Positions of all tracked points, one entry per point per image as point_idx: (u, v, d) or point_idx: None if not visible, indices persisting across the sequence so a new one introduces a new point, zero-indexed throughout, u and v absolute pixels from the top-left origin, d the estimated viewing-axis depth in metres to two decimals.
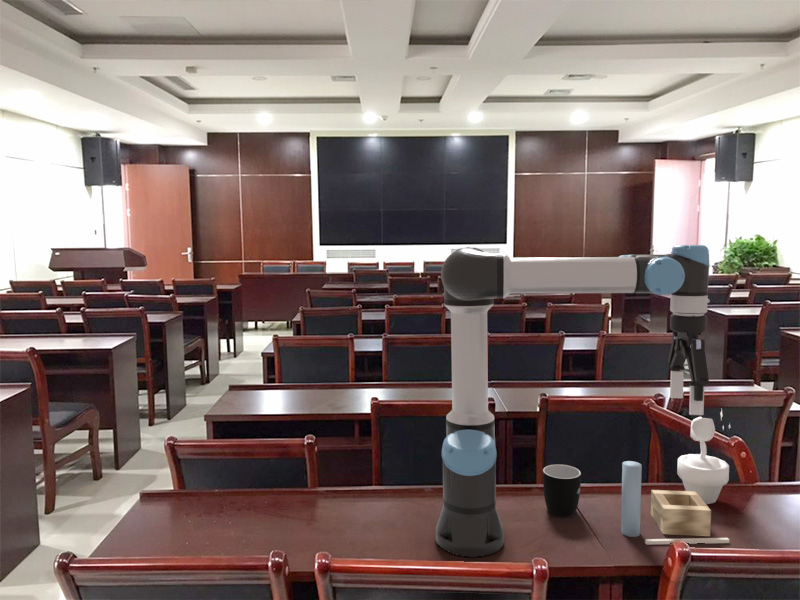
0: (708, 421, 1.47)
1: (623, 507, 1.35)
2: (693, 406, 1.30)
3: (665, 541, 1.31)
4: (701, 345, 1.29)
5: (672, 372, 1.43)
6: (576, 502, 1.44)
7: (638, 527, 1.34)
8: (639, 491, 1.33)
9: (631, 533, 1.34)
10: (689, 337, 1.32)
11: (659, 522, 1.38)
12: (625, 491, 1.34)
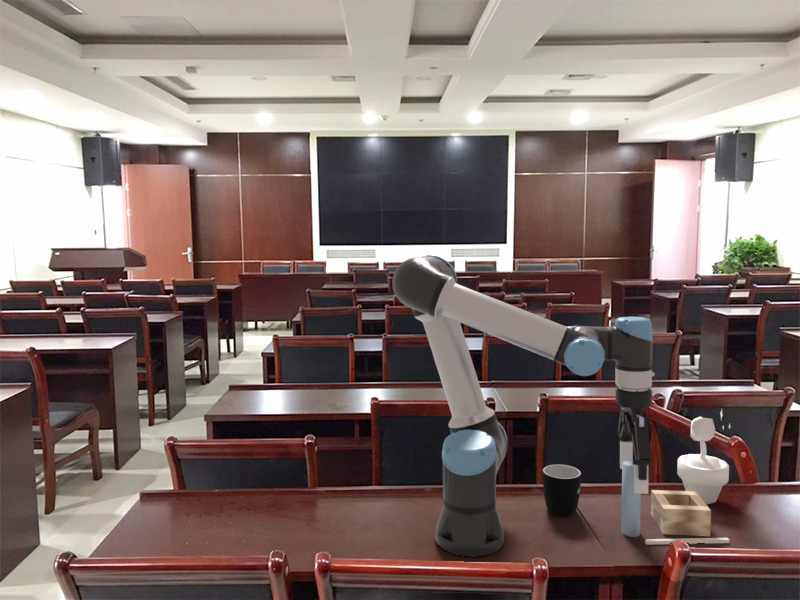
0: (708, 421, 1.47)
1: (623, 507, 1.35)
2: (637, 484, 1.27)
3: (665, 541, 1.31)
4: (644, 423, 1.26)
5: (621, 443, 1.41)
6: (576, 502, 1.44)
7: (638, 527, 1.34)
8: None
9: (631, 533, 1.34)
10: (633, 413, 1.29)
11: (659, 522, 1.38)
12: (625, 491, 1.34)
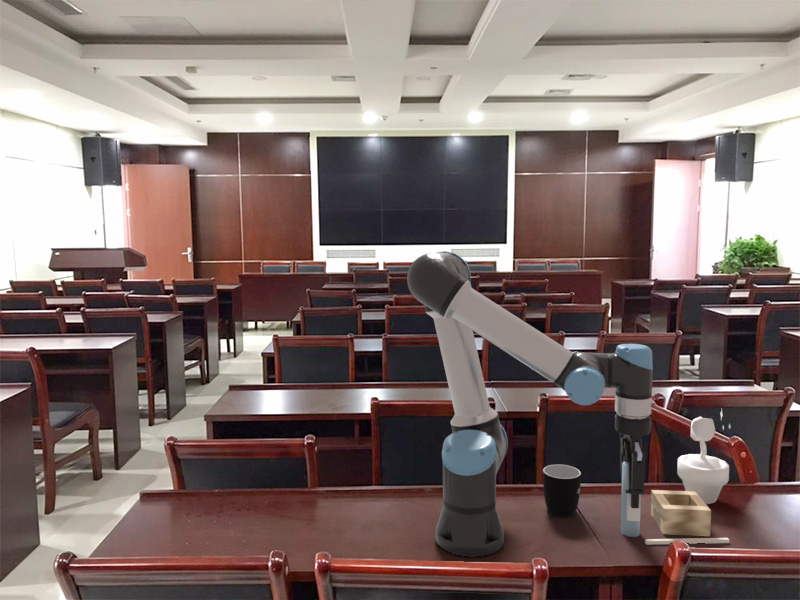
0: (708, 421, 1.47)
1: (623, 507, 1.35)
2: (630, 512, 1.33)
3: (665, 541, 1.31)
4: (642, 458, 1.28)
5: None
6: (576, 502, 1.44)
7: (638, 527, 1.34)
8: None
9: (631, 533, 1.34)
10: (632, 443, 1.30)
11: (659, 522, 1.38)
12: None
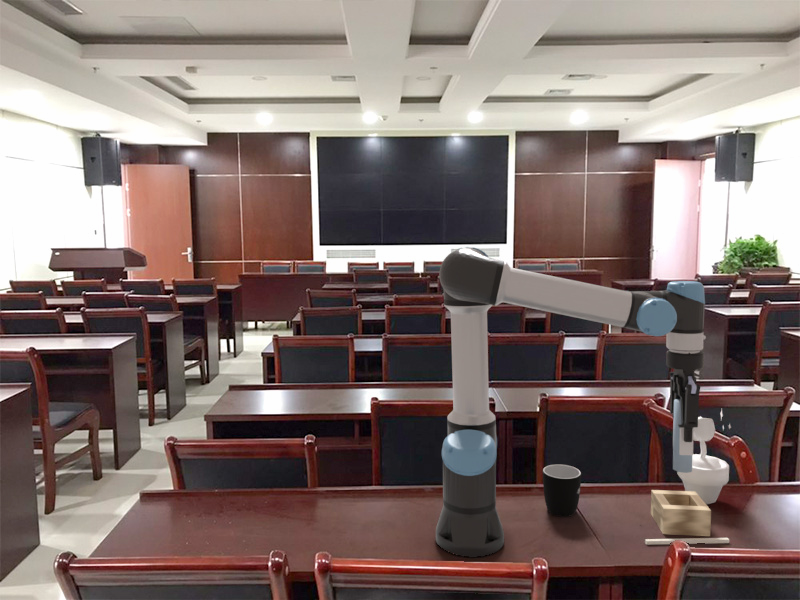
0: (708, 421, 1.47)
1: (675, 443, 1.37)
2: (683, 446, 1.35)
3: (665, 541, 1.31)
4: (696, 391, 1.29)
5: None
6: (576, 502, 1.44)
7: (691, 463, 1.36)
8: None
9: (684, 469, 1.36)
10: (686, 377, 1.32)
11: (659, 522, 1.38)
12: (677, 427, 1.36)
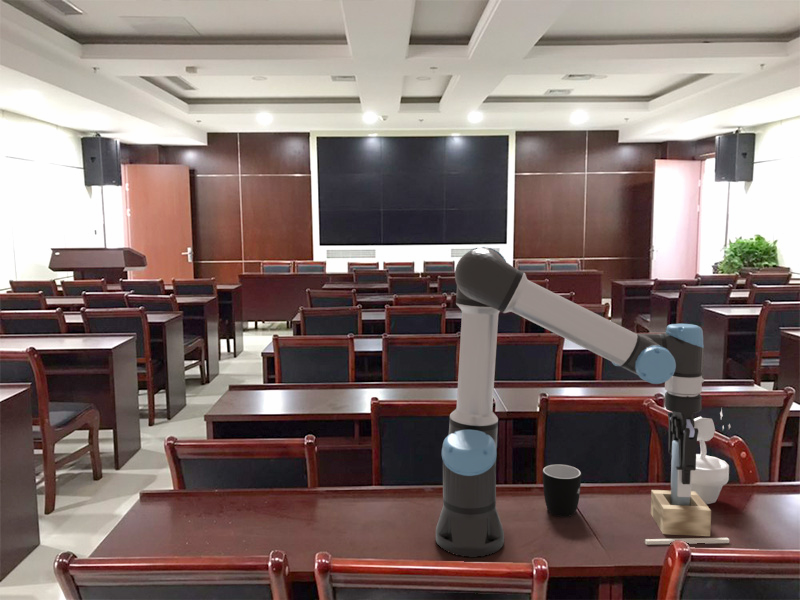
0: (708, 421, 1.47)
1: (673, 485, 1.38)
2: (680, 488, 1.36)
3: (665, 541, 1.31)
4: (694, 435, 1.31)
5: None
6: (576, 502, 1.44)
7: (688, 504, 1.37)
8: None
9: None
10: (684, 420, 1.33)
11: (659, 522, 1.38)
12: (675, 469, 1.37)
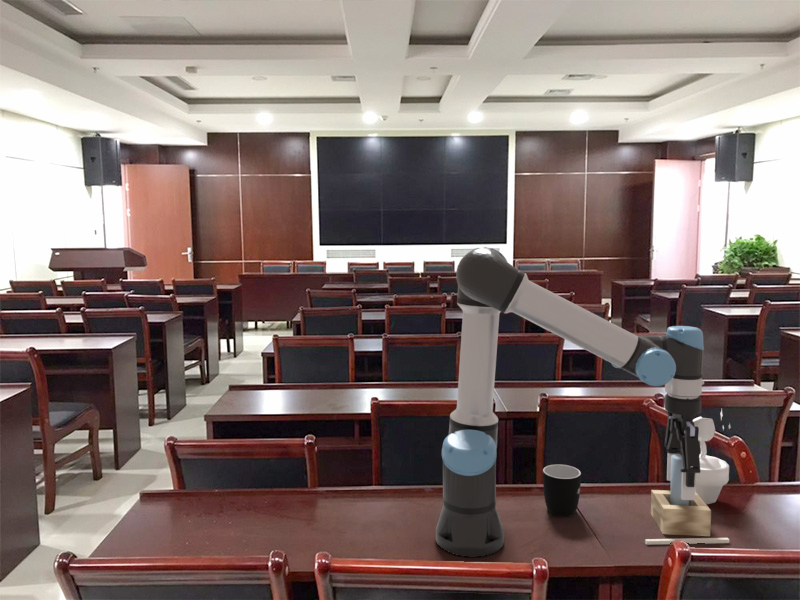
0: (708, 421, 1.47)
1: (672, 499, 1.38)
2: (685, 491, 1.33)
3: (665, 541, 1.31)
4: (695, 433, 1.30)
5: (669, 455, 1.43)
6: (576, 502, 1.44)
7: None
8: None
9: None
10: (684, 421, 1.33)
11: (659, 522, 1.38)
12: (674, 484, 1.37)
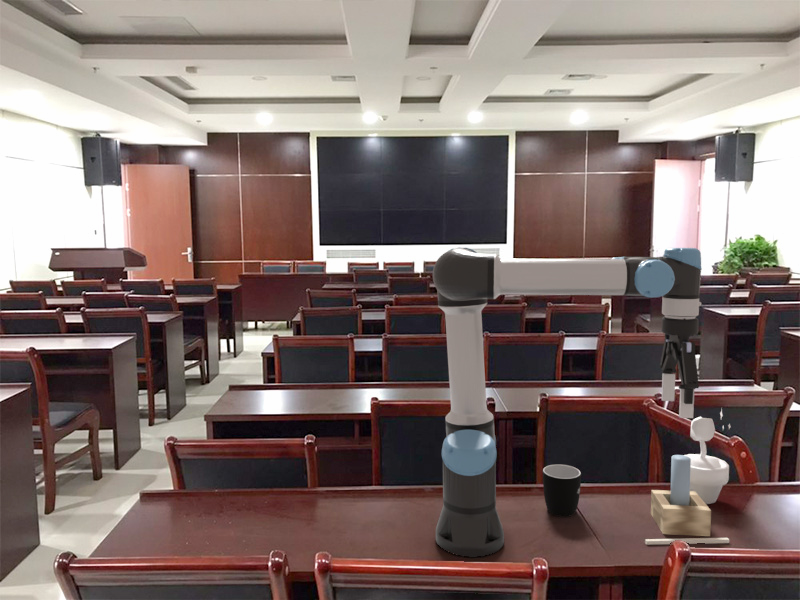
0: (708, 421, 1.47)
1: (672, 500, 1.38)
2: (683, 409, 1.30)
3: (665, 541, 1.31)
4: (691, 348, 1.29)
5: (664, 375, 1.43)
6: (576, 502, 1.44)
7: None
8: (688, 484, 1.37)
9: None
10: (680, 340, 1.32)
11: (659, 522, 1.38)
12: (674, 484, 1.37)
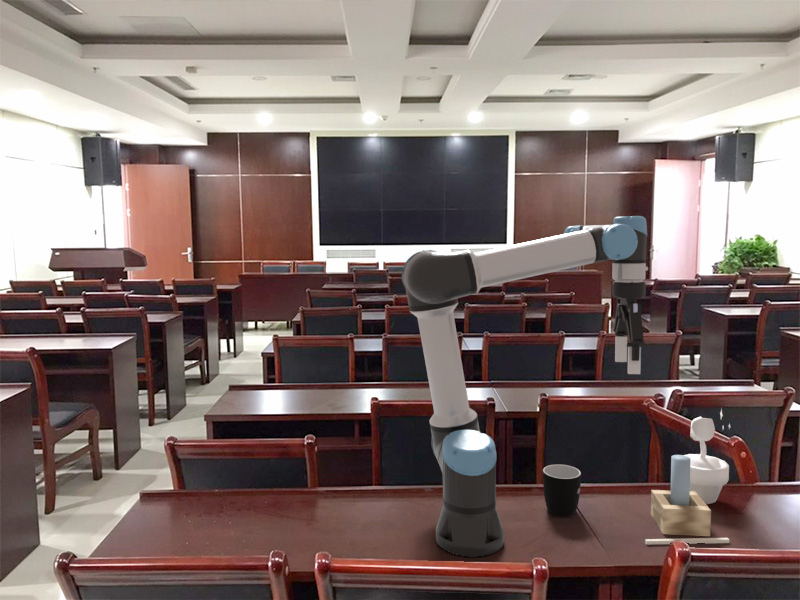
0: (708, 421, 1.47)
1: (672, 500, 1.38)
2: (631, 366, 1.40)
3: (665, 541, 1.31)
4: (638, 308, 1.38)
5: (616, 337, 1.53)
6: (576, 502, 1.44)
7: None
8: (688, 484, 1.37)
9: None
10: (628, 302, 1.42)
11: (659, 522, 1.38)
12: (674, 484, 1.37)
